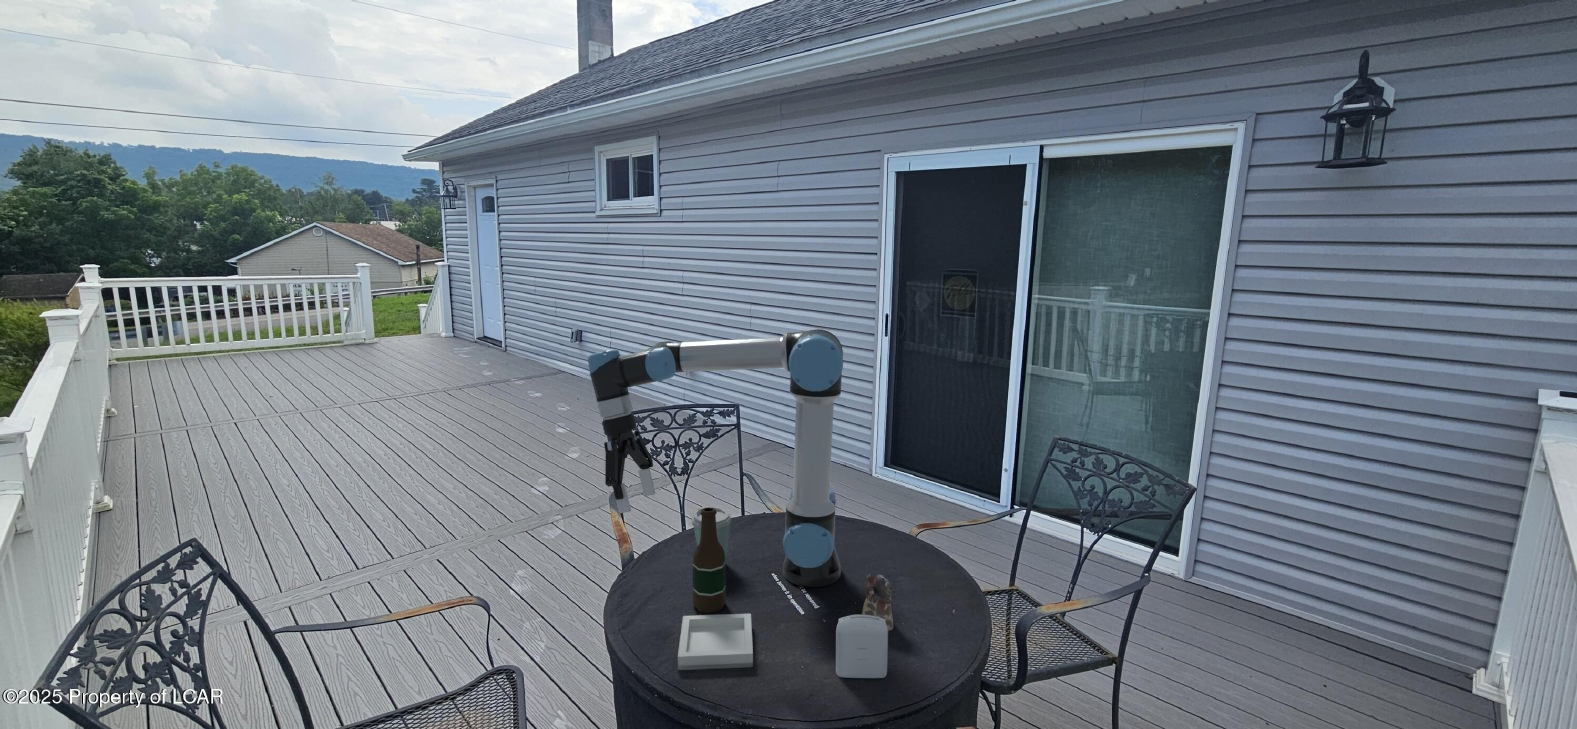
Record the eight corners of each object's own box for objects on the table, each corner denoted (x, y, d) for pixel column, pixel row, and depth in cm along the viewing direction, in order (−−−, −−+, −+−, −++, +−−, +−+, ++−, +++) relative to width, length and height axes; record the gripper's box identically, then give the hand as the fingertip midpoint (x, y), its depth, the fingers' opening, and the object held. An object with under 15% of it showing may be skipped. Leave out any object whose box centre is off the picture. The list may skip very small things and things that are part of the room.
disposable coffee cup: (740, 563, 180) (739, 510, 177) (715, 579, 171) (714, 524, 168) (709, 553, 185) (708, 501, 183) (683, 568, 176) (682, 514, 174)
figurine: (892, 635, 147) (894, 584, 145) (860, 631, 148) (861, 581, 146) (893, 618, 154) (895, 569, 152) (863, 614, 155) (864, 566, 153)
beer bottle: (712, 617, 153) (711, 518, 149) (686, 607, 157) (684, 511, 153) (732, 602, 160) (732, 507, 156) (707, 593, 164) (706, 500, 160)
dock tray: (750, 625, 150) (750, 613, 149) (752, 667, 135) (752, 653, 135) (683, 628, 149) (683, 616, 148) (678, 670, 134) (677, 656, 133)
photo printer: (835, 679, 132) (836, 621, 129) (834, 666, 136) (836, 610, 134) (888, 681, 131) (890, 623, 129) (885, 667, 135) (887, 611, 133)
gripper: (626, 410, 170) (645, 490, 171) (575, 428, 145) (598, 522, 146) (653, 404, 168) (672, 486, 169) (606, 422, 144) (628, 517, 145)
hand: (638, 503), depth 158 cm, fingers open, 13 cm apart
